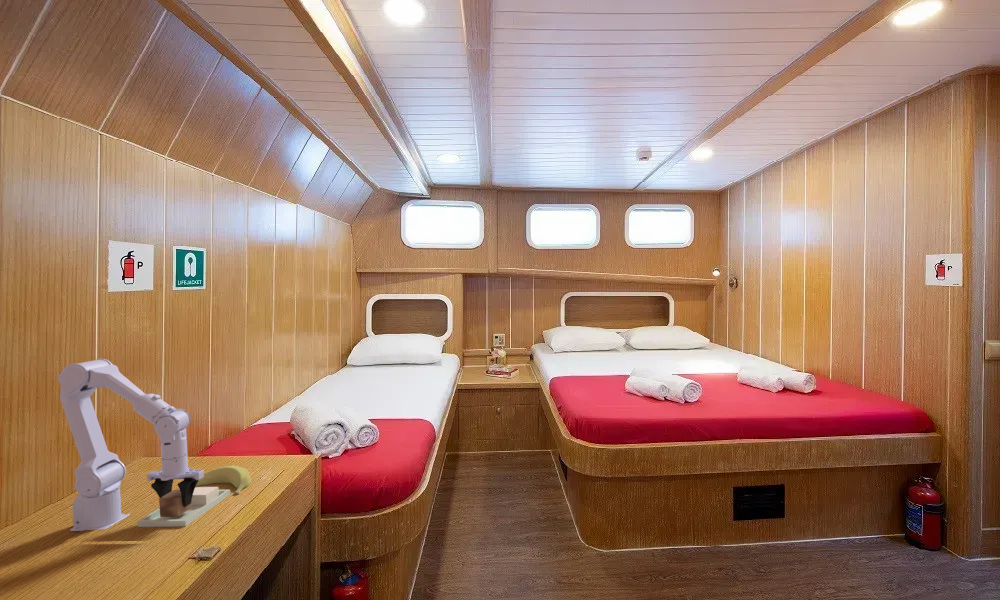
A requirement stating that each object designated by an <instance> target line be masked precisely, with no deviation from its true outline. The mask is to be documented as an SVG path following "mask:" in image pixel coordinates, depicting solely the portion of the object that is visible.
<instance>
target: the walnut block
mask: <svg viewBox="0 0 1000 600" xmlns="http://www.w3.org/2000/svg"><path fill="white" fill-rule="evenodd" d="M158 502H159V503H158V504H159V505H158V506H159V508H160V517H179V516H180V515H182V514H183V513H185V512H186V511H187V510H189V509H190V508H192V500H191V504H189V505H188V506H186V507H183V504H182V495H181V492H180V489H172V491H171V492H169V493H168V494H166V495H164V496H163V497H161V498H159V497H158Z"/></svg>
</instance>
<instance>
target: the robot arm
mask: <svg viewBox="0 0 1000 600" xmlns="http://www.w3.org/2000/svg"><path fill="white" fill-rule="evenodd" d="M57 379H58V382H59V385H60V392H59V400H60V402H61V406H62V409H63V411H64V415H65V417H66V421H67V423H68V425H69V429H70V431H71V434H72V438H73V440H74V443H75V446H76V449H77V452H78V455H79V458H80V463H79V464H78V466H77V467H76V468H75V470H74V475H75V483H74V488H75V490H76V493H78V494H77V496H76V497H75V498H74V500H73V503H72V521H73V523H72V524H73V527H72V528H70V532H83V531H84V530H85V531H88V530H89V531H90V530H91V531H92V530H94V531H97V530H98V531H99V530H102V531H103V530H106V529H108V528H110V527H111V526H113V525H114V524H117V523H119V522H120V521H121V520H123V519H125V518H126V517H128V516H130V515H131V513H122V502H121V501H122V500H121V487H120V486H121V485H122V480H123V479H124V478H125V477H126V474H127V468H126V465H125V464H124V463H123V462H122V461H121V460H120V459H119V455H118V454H117V453H114V452H111V451H109V450H108V446H107V443H106V441H105V438H104V435H103V432H102V428H101V425H100V423H99V420H98V417H97V414H96V411H95V407H94V405H93V402H92V399H91V397H92V395H93V394H94V392H95V391H96V390H97V388H99V389H100V388H106V389H107V390H108V389H109V390H110V391H111V392H113V393H114V394H116V395H119V396H120V397H122V398H123V399H125V400H126V401H128V402H130V403H131V404H133V412H135V413H137V414H138V415H139V416H141V417H142V418H143V419H145V420H147V421H148V422H150V423H151V424H152V425H154V426H153V429H154V431H155V433H156V434H157V435H158V437H159V442H160V452H161V453H160V454H161V457H160V458H161V470H152V471H150V472H148V473H146V481H147V482H148V481H149V482H150V481H153V480H154V482H153V483H151V484H150V487H151V489H153V490H154V491H155V493H156V494H157V496H158V499H159V498H161V497H163V496H164V495H166V494H168V493H169V492H171V491H173V484H174V480H181V481H180V482H178V483H177V486H178V488H179V489H178V490H180V492H181V495H182V504H183V507H186V506H188V505H189V504H191V500H192V496H193V492H194V489H195V487H197V486H196V485H197V483H198V481H199V479H201V478H203V477H204V473H205V470H204V469H195V468H191V467H189V460H188V458H189V457H188V440H187V439H188V437H187V436H188V435H187V427H189V425H190V423H191V416H190V414H189V413H188V412H187V410H186V409H184V408H176V407H175V406H173V405H172V406H171V405H170V404H168V403H167V402H166V401H164V400H163V399H162V396H161V395H159V394H155V393H145V392H143V390H141V388H139V387H138V386H137V385H135V384H134V383H133V382H132V381H131V380H129V379H128V378H127V377H126V376H124V375H123V374H122V373H121V372H120V370H119V368H118V366H117V365H115V364H114V363H112V362H111V361H110V360H109V359H105V358H97V359H94V360H88V361H85V362H84V361H83V362H79V363H71V364H68V365H67V366H65V367H64V368H63V369H62V371H61V372H60V373H59V374H58V375H57Z"/></svg>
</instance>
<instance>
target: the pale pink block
mask: <svg viewBox="0 0 1000 600" xmlns="http://www.w3.org/2000/svg"><path fill="white" fill-rule="evenodd" d="M219 490H220V489H219V486H196V487H195V489H194V492H193V496H192V506H193V505H206V504H208V503H209V502H210V501H212V500H213V499H215V498H216V497H218V496H219Z"/></svg>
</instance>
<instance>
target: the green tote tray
mask: <svg viewBox="0 0 1000 600" xmlns="http://www.w3.org/2000/svg"><path fill="white" fill-rule="evenodd" d="M218 490H219V496H218V497H216V498H215V499H213V500H212V501H210V502H209V503H208V504H206V505H193V506H192V508H190V509H189V510H187V511H186V512H185V513H183V514H182V515H180V516H179V517H160V507H159V508H157V509H156V510H154V511H151V512H150V513H149V514H147V515H146V516H144V517H142V518H141V519H139V520H137V522H136V523H137V524H136V525H137V526H136V527H137V528H157V527H163V528H164V527H165V528H167V527H169V528H170V527H171V528H172V527H175V528H176V527H188V526H189V525H190V524H191V523H193V522H194V521H195V520H197V519H198V518H200V517H202V515H204V514H205V513H207V512H208V511H209V510H211V509H212V508H213V507H215V506H216V505H218V504H219V503H220V502H222V501H223V500H224V499H226V498H228V497H229V496H230V495H231V489H218Z"/></svg>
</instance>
